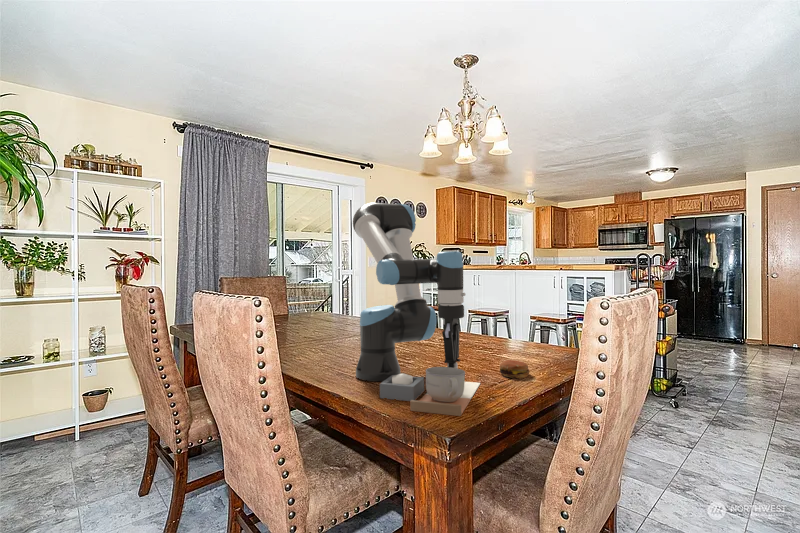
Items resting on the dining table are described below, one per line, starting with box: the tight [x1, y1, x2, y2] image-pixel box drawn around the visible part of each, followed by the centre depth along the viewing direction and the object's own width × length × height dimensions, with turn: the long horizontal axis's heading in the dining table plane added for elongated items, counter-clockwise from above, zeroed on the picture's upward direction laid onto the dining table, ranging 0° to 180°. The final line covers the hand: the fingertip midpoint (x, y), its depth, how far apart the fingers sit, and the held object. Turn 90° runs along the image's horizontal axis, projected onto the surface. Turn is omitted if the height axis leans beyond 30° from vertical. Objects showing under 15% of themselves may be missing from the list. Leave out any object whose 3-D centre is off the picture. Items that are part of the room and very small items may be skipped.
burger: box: [499, 359, 530, 379], centre depth 139 cm, size 10×9×5 cm
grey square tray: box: [379, 375, 425, 402], centre depth 120 cm, size 10×10×4 cm
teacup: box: [425, 366, 466, 402], centre depth 112 cm, size 14×11×8 cm
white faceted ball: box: [392, 372, 414, 385], centre depth 120 cm, size 6×6×6 cm
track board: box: [409, 381, 481, 417], centre depth 118 cm, size 13×29×2 cm, turn 160°
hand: (452, 384), depth 121 cm, fingers closed
